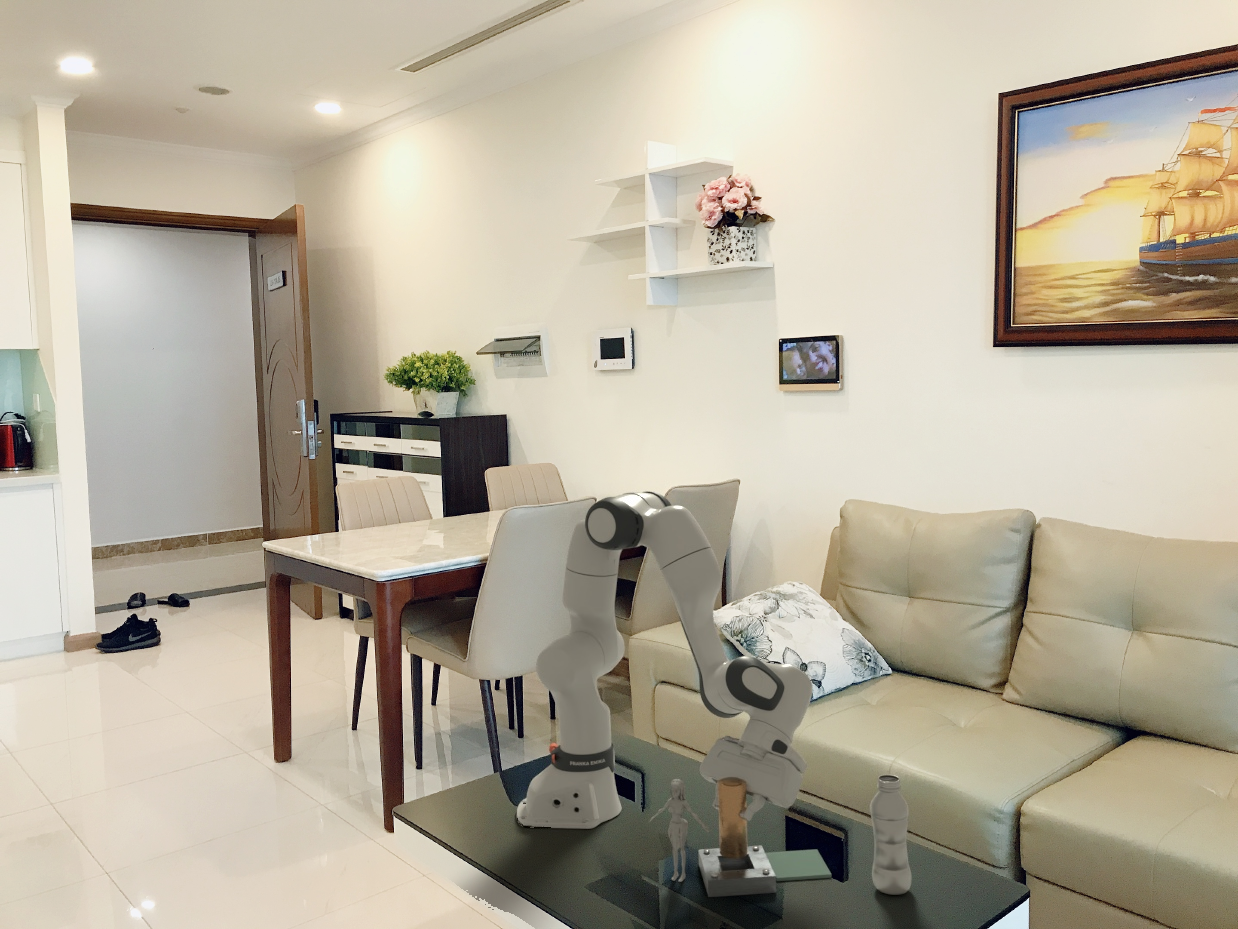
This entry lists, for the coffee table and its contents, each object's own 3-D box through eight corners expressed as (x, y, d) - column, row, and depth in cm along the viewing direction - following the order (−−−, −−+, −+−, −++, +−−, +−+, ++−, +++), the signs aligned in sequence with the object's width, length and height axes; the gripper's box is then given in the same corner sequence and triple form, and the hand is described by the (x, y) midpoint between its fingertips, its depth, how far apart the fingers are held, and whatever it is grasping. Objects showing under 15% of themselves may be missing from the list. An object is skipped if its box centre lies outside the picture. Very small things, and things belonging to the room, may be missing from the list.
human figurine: (646, 875, 178) (642, 779, 177) (654, 866, 181) (651, 772, 180) (707, 887, 172) (703, 789, 171) (714, 878, 176) (711, 781, 175)
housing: (708, 897, 169) (707, 878, 169) (698, 865, 181) (698, 847, 181) (776, 892, 169) (775, 873, 169) (762, 861, 181) (761, 843, 181)
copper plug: (722, 859, 172) (720, 787, 172) (717, 847, 177) (716, 776, 177) (749, 858, 173) (748, 785, 172) (744, 845, 178) (743, 775, 177)
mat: (776, 881, 173) (776, 878, 173) (765, 855, 183) (765, 852, 183) (831, 877, 174) (831, 874, 174) (817, 852, 184) (817, 849, 184)
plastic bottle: (913, 901, 165) (911, 786, 164) (872, 898, 166) (869, 785, 165) (910, 882, 171) (907, 772, 170) (870, 880, 172) (867, 770, 171)
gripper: (712, 725, 186) (679, 789, 180) (800, 750, 171) (766, 822, 165) (728, 742, 189) (696, 805, 183) (815, 768, 175) (783, 838, 168)
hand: (730, 813), depth 174 cm, fingers closed on copper plug, 5 cm apart
